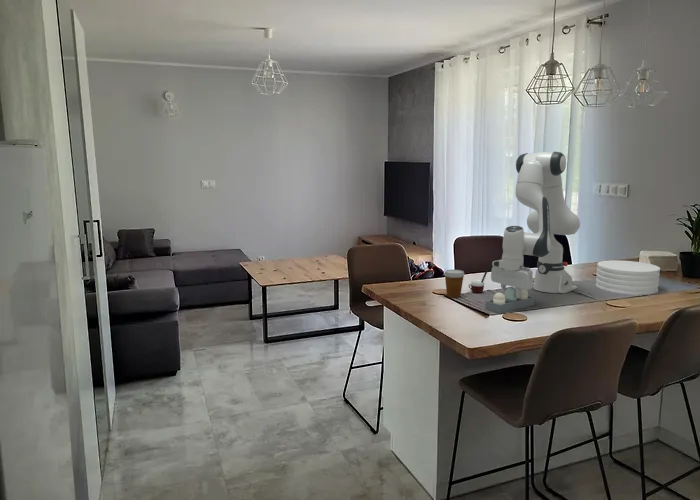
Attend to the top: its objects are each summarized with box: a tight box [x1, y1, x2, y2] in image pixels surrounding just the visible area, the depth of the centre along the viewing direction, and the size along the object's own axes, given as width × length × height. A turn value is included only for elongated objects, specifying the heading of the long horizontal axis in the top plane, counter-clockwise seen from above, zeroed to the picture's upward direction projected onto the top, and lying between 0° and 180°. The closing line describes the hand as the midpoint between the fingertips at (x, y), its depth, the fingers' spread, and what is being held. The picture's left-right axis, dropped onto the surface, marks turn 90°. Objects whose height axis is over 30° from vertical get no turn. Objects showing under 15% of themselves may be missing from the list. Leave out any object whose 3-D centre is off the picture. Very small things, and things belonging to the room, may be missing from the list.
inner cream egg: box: [519, 289, 529, 300], centre depth 237 cm, size 5×5×8 cm
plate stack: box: [595, 259, 661, 296], centre depth 271 cm, size 28×28×12 cm
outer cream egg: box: [492, 292, 505, 305], centre depth 229 cm, size 5×5×8 cm
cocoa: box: [468, 268, 489, 294], centre depth 262 cm, size 10×6×12 cm, turn 30°
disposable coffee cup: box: [443, 269, 465, 299], centre depth 255 cm, size 10×10×12 cm
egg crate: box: [485, 295, 536, 314], centre depth 234 cm, size 22×8×4 cm, turn 123°
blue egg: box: [504, 286, 517, 302], centre depth 233 cm, size 5×5×8 cm
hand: (510, 295), depth 233 cm, fingers closed on blue egg, 5 cm apart
